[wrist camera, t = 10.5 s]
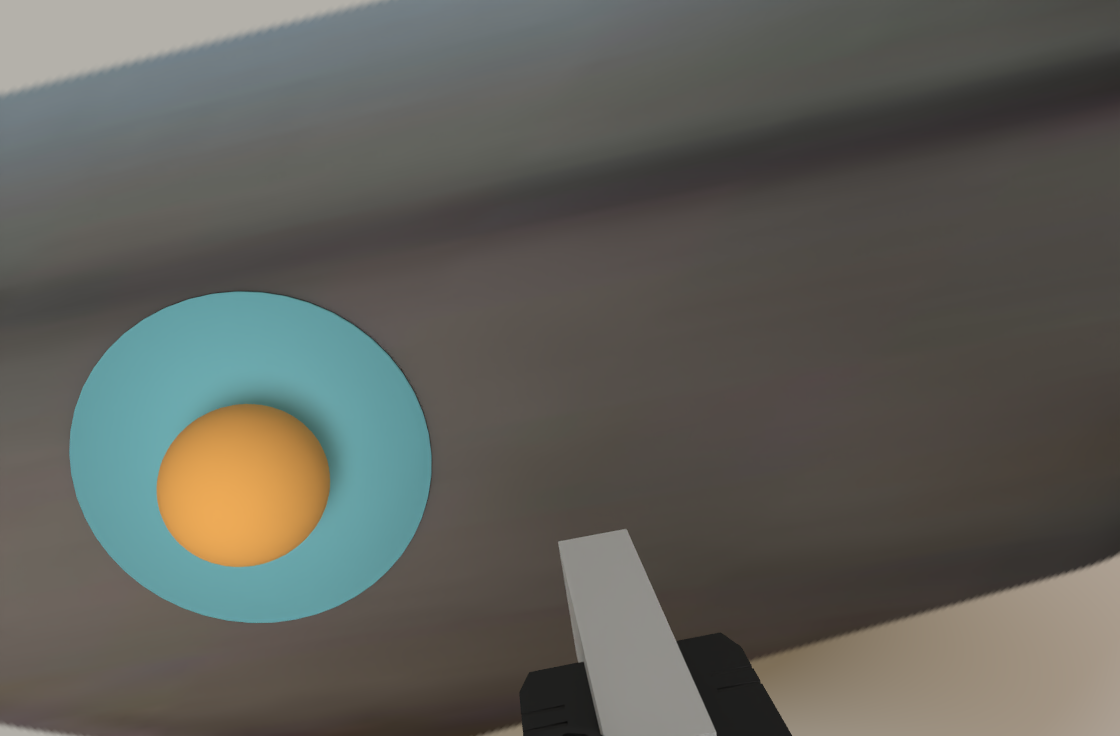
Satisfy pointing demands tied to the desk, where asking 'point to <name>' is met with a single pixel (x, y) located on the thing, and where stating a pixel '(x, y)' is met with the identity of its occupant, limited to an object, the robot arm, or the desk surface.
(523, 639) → the desk surface
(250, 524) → the ball
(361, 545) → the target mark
